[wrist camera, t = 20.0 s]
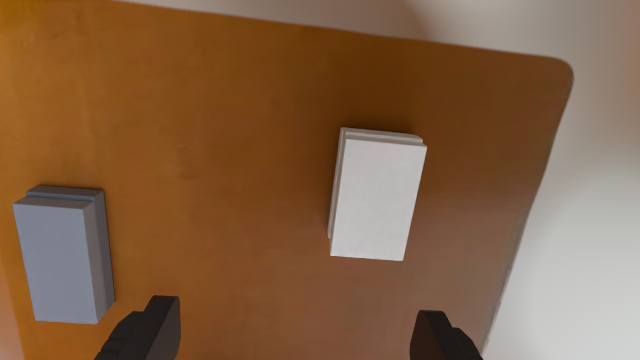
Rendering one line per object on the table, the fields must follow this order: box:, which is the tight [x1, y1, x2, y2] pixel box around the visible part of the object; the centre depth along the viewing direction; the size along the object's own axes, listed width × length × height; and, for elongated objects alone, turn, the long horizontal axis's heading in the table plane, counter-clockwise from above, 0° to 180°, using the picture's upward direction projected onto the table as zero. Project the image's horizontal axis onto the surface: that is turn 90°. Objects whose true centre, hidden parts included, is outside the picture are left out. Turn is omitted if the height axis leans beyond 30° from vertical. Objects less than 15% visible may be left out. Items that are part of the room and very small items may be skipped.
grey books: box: [12, 185, 115, 324], centre depth 32 cm, size 12×6×3 cm, turn 174°
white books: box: [327, 127, 423, 238], centre depth 31 cm, size 10×6×3 cm, turn 174°
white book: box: [329, 135, 427, 261], centre depth 29 cm, size 10×6×2 cm, turn 174°
